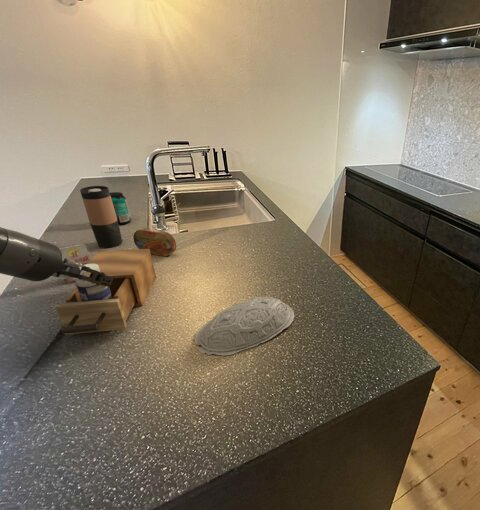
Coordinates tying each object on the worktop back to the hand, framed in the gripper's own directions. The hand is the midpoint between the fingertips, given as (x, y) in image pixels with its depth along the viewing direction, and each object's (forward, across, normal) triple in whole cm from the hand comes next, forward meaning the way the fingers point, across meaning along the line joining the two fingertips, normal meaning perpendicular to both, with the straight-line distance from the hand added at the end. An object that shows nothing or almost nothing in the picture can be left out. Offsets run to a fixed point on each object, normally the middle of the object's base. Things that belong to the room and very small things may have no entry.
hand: (99, 279), depth 70 cm
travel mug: (+30, -35, +14) cm, 48 cm away
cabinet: (+14, -6, -1) cm, 16 cm away
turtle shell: (+14, +32, -2) cm, 35 cm away
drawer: (+6, 0, -9) cm, 10 cm away
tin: (+30, -16, +15) cm, 37 cm away
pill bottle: (+3, 0, -5) cm, 6 cm away
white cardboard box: (+16, -24, 0) cm, 28 cm away
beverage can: (+41, -48, +26) cm, 69 cm away
